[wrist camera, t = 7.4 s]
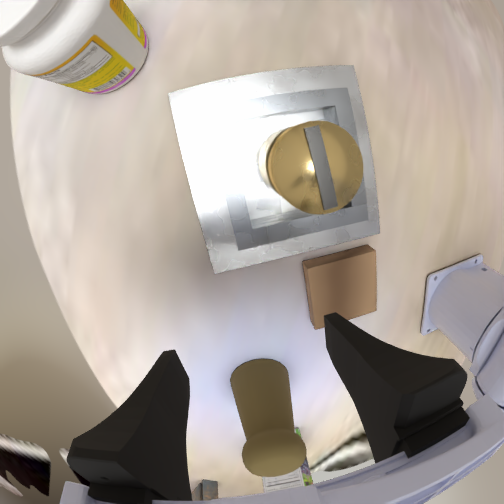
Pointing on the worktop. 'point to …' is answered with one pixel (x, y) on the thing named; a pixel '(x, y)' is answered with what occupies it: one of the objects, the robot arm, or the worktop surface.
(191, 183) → the grey square tray
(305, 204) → the slotted brass cylinder
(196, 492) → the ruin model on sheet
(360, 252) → the stand
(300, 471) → the syrup box
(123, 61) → the supplement bottle
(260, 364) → the cork
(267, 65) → the worktop surface
